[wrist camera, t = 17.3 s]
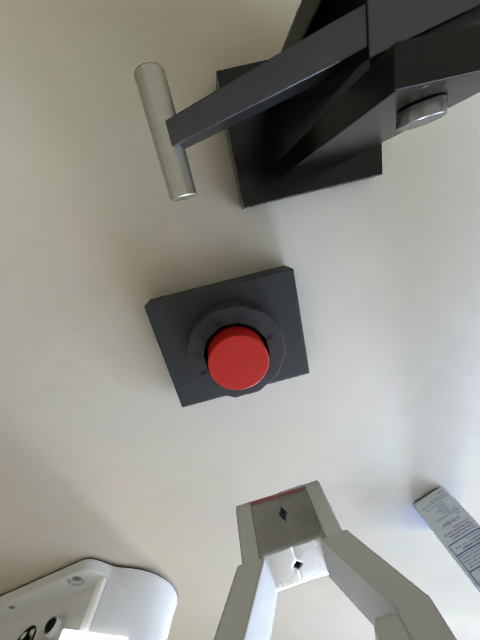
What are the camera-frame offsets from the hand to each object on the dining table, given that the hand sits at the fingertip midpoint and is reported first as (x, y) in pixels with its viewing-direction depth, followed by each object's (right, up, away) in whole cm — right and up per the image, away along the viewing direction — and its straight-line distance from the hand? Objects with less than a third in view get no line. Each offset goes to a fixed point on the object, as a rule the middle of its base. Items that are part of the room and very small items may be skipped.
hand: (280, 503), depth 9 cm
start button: (-2, +4, +9) cm, 10 cm away
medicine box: (+24, -18, +24) cm, 38 cm away
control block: (-2, +5, +13) cm, 14 cm away
